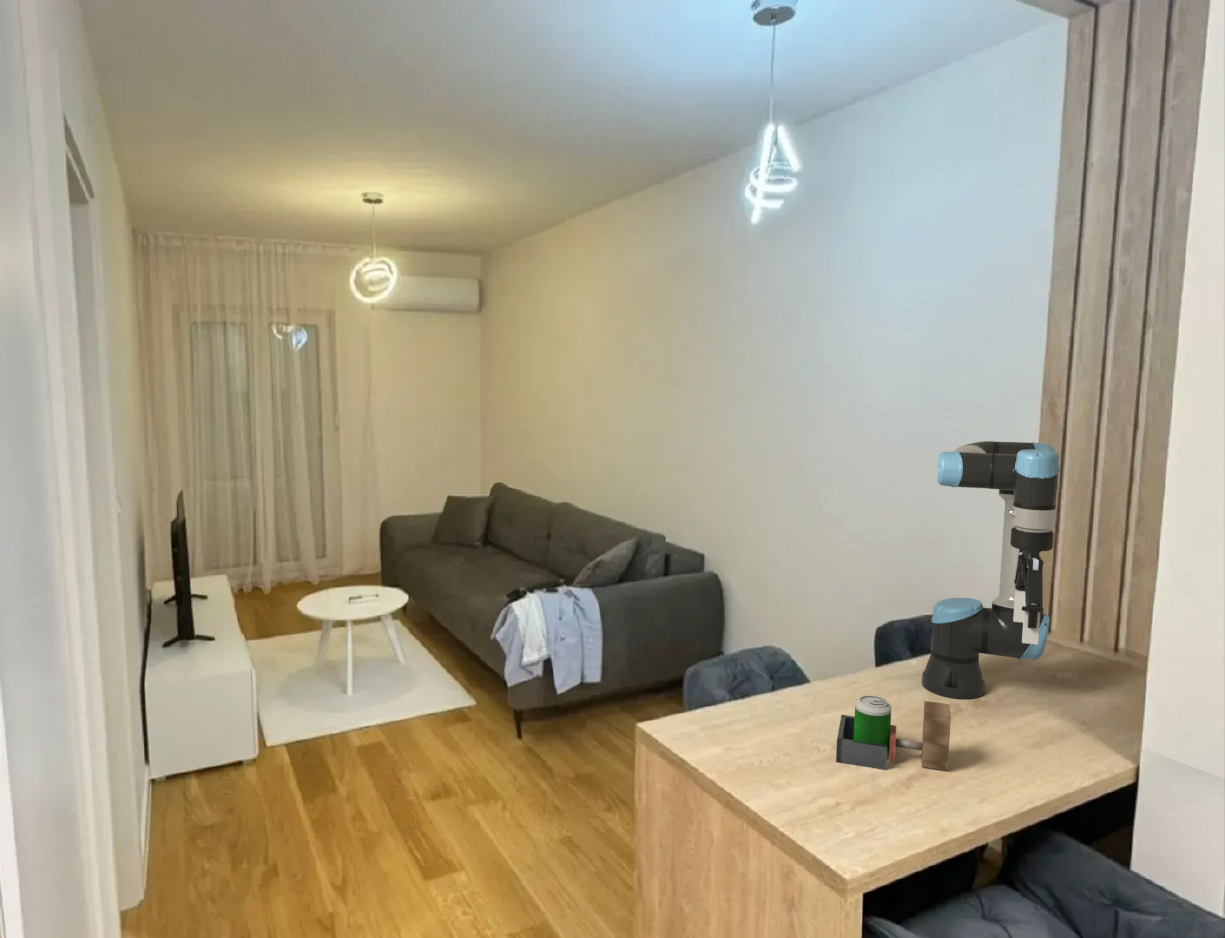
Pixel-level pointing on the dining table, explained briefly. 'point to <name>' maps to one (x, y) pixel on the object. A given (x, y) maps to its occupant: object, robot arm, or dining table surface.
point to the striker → (929, 737)
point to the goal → (858, 748)
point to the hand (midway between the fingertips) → (1025, 632)
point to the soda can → (872, 720)
